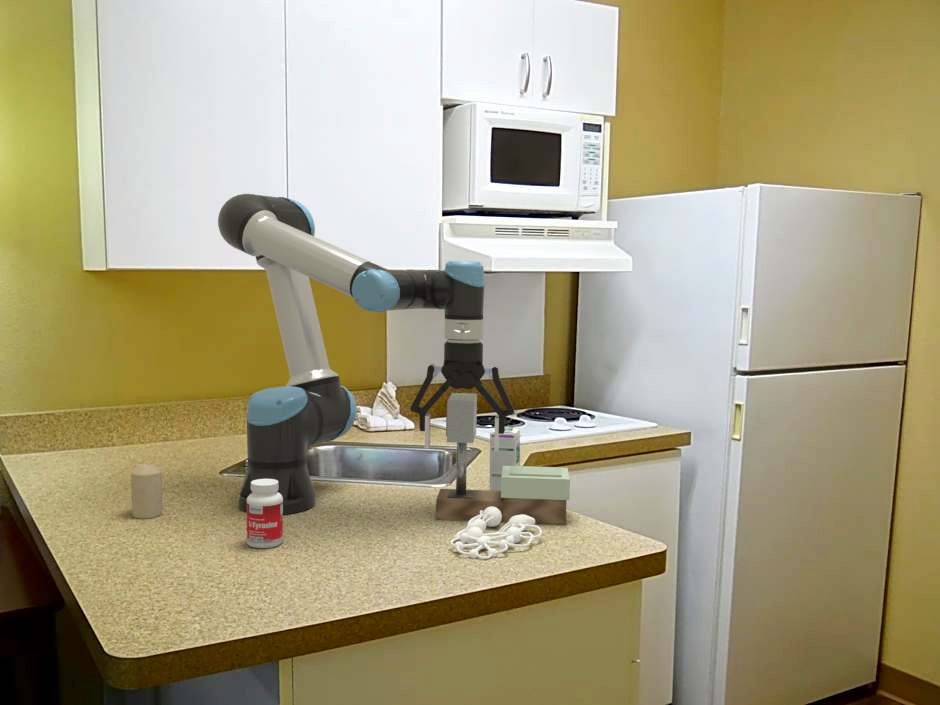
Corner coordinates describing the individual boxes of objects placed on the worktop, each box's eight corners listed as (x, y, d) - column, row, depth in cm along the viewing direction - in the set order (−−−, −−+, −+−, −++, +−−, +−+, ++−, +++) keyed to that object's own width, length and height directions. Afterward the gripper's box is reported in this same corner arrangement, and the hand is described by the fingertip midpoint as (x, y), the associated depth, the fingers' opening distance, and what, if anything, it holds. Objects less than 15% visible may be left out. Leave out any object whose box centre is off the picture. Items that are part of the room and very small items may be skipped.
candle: (168, 512, 164) (167, 462, 163) (149, 520, 159) (148, 468, 158) (145, 509, 166) (144, 459, 165) (125, 517, 161) (124, 465, 160)
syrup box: (515, 500, 178) (517, 432, 176) (488, 498, 179) (489, 430, 177) (519, 493, 183) (521, 427, 182) (493, 491, 184) (494, 425, 183)
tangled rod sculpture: (504, 575, 138) (507, 551, 137) (429, 552, 145) (431, 529, 144) (551, 539, 155) (553, 518, 154) (482, 520, 162) (484, 500, 161)
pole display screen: (449, 486, 171) (450, 392, 169) (475, 487, 171) (477, 393, 169) (444, 500, 161) (446, 400, 159) (472, 501, 161) (473, 401, 159)
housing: (435, 519, 163) (436, 494, 162) (440, 507, 171) (440, 483, 170) (565, 524, 161) (566, 499, 161) (563, 512, 169) (564, 488, 168)
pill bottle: (243, 549, 144) (243, 486, 143) (249, 538, 150) (249, 477, 149) (280, 549, 144) (280, 486, 143) (285, 537, 150) (285, 477, 149)
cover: (500, 497, 161) (501, 475, 160) (502, 485, 170) (502, 463, 170) (569, 500, 160) (569, 477, 159) (567, 487, 169) (567, 465, 169)
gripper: (396, 341, 160) (395, 450, 162) (528, 344, 158) (525, 454, 160) (402, 337, 167) (401, 442, 170) (528, 340, 166) (525, 446, 168)
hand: (461, 448), depth 165 cm, fingers open, 13 cm apart
